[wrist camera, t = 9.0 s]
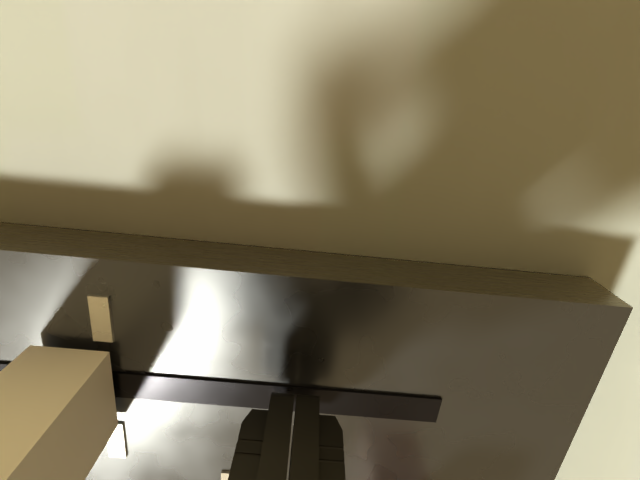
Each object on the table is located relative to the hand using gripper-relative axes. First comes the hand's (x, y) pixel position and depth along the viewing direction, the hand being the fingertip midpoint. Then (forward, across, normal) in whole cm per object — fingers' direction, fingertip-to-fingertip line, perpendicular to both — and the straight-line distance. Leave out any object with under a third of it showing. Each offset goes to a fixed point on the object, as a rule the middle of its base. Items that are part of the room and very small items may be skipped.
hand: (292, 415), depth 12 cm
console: (+3, +2, +4) cm, 5 cm away
